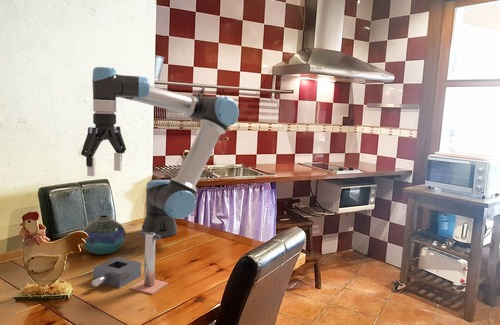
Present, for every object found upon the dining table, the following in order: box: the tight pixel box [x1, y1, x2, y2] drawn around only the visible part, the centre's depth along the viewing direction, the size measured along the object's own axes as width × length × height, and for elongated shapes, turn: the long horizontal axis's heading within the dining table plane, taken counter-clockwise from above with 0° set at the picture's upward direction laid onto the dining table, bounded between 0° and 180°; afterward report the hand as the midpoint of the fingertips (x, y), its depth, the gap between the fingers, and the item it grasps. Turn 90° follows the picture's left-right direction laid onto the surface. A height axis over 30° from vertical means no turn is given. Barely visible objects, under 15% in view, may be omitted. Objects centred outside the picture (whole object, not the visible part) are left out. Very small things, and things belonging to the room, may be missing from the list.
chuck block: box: [91, 256, 142, 289], centre depth 121 cm, size 15×10×4 cm, turn 158°
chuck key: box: [140, 231, 162, 287], centre depth 118 cm, size 6×3×16 cm, turn 68°
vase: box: [82, 214, 126, 255], centre depth 145 cm, size 15×15×13 cm
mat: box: [129, 278, 169, 296], centre depth 119 cm, size 8×8×1 cm
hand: (105, 173), depth 139 cm, fingers open, 13 cm apart
